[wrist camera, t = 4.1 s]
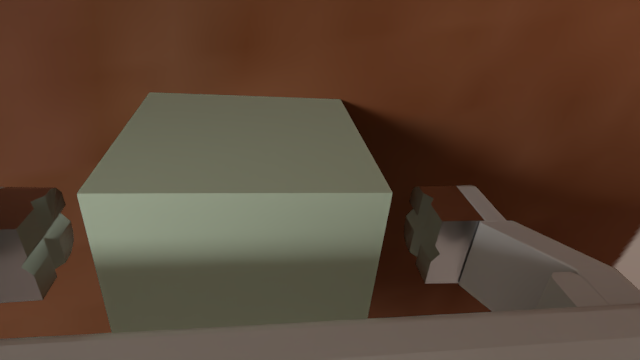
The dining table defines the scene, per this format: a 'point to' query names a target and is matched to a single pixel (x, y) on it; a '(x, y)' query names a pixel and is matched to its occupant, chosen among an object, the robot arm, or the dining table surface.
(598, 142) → the dining table surface
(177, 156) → the sage cube
